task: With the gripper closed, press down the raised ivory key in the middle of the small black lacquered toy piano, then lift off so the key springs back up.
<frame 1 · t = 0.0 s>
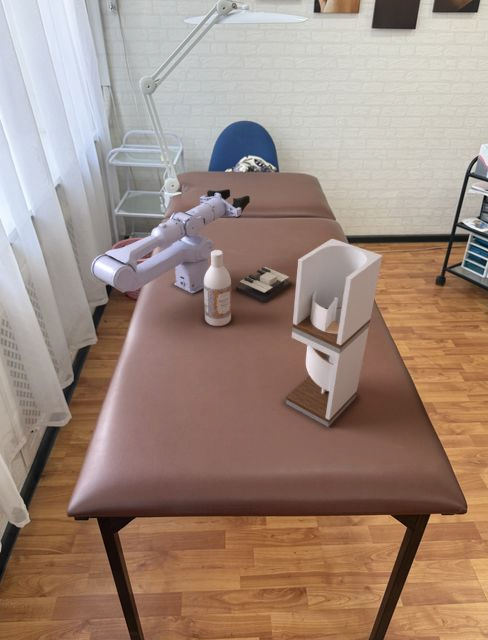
hand: (238, 195, 151), 22 cm above the table, tool horizontal, fingers open, 7 cm apart
toy piano: (263, 288, 149), on the table
piano keys trim: (264, 278, 147), on the toy piano, point 3 cm above the table
bath foam: (218, 320, 136), on the table
white tower: (321, 401, 111), on the table
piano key: (268, 279, 147), point 4 cm above the table, slide at 0.1 cm
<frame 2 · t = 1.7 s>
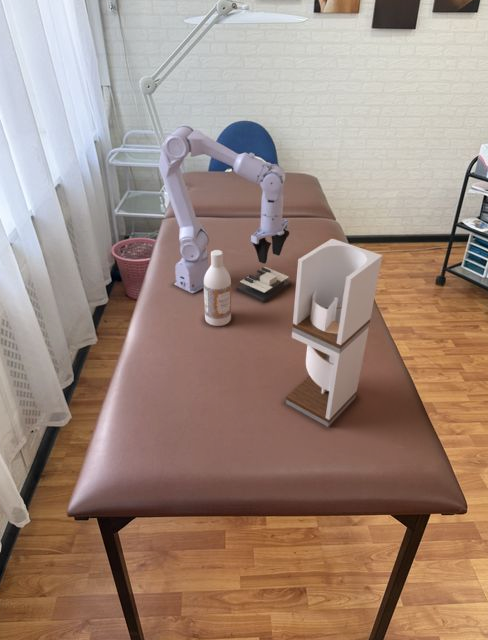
hand: (269, 258, 143), 10 cm above the table, tool pointing down, fingers open, 6 cm apart
nothing on the table moved.
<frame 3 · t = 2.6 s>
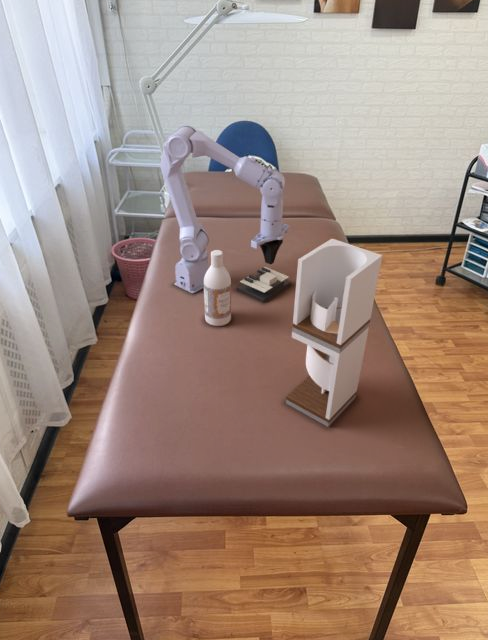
hand: (269, 262, 144), 9 cm above the table, tool pointing down, fingers closed
nothing on the table moved.
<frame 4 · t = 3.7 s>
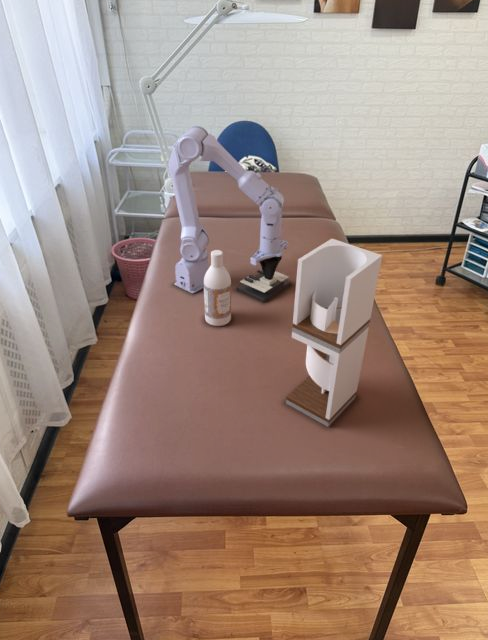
hand: (268, 278, 146), 4 cm above the table, tool pointing down, fingers closed, pressing on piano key
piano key: (268, 281, 147), point 3 cm above the table, slide at -0.6 cm, touching gripper
everything else where it was.
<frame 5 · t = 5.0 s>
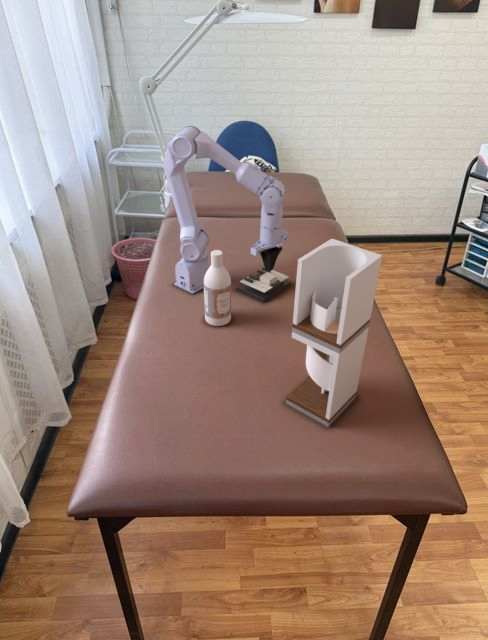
hand: (268, 269, 145), 7 cm above the table, tool pointing down, fingers closed
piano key: (268, 279, 147), point 4 cm above the table, slide at 0.1 cm
everything else where it was.
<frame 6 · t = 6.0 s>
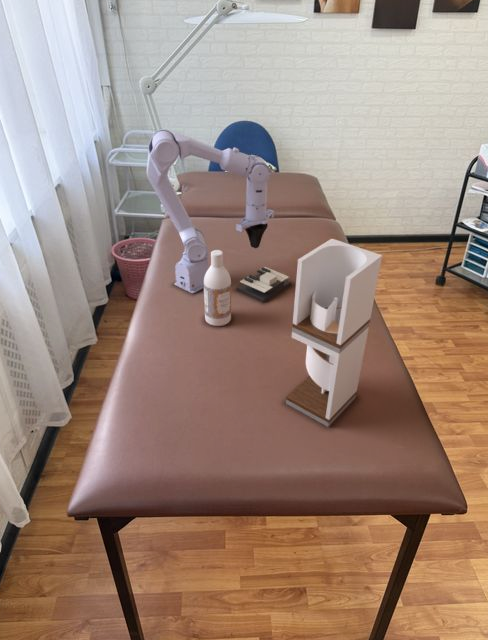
hand: (254, 246, 149), 10 cm above the table, tool pointing down, fingers closed
nothing on the table moved.
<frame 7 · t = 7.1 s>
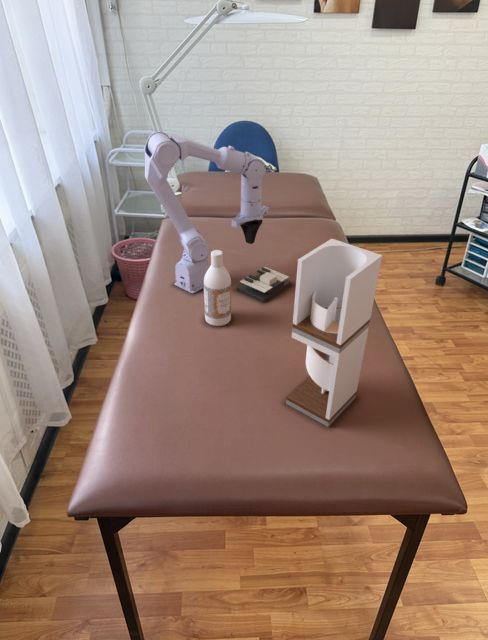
hand: (249, 242, 151), 10 cm above the table, tool pointing down, fingers closed
nothing on the table moved.
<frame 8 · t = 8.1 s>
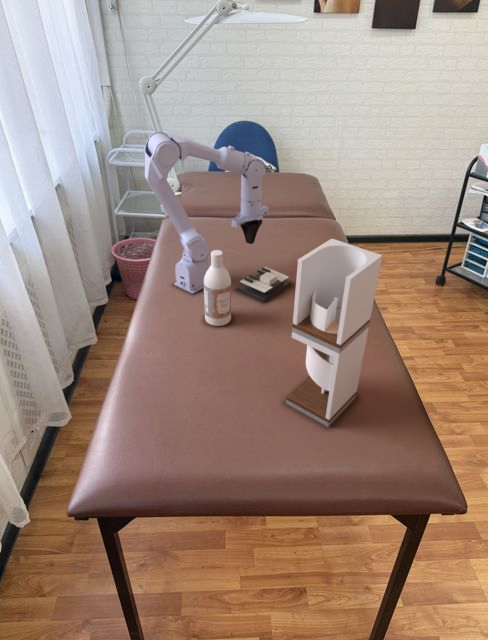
hand: (249, 242, 151), 10 cm above the table, tool pointing down, fingers closed
nothing on the table moved.
at the end: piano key pushed in 0.9 cm at the most during the clip, back to where it started at the end; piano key slide at 0.1 cm; bath foam moved 0.2 cm from its start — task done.
